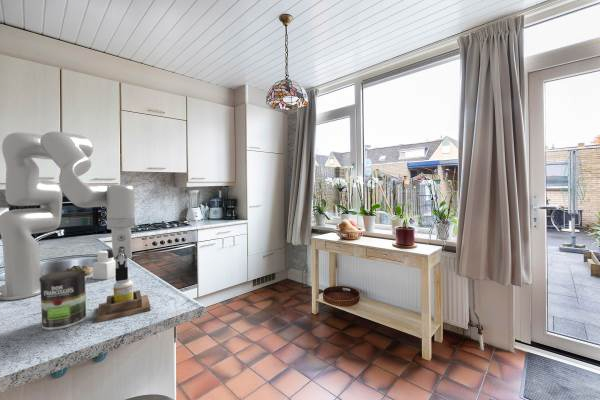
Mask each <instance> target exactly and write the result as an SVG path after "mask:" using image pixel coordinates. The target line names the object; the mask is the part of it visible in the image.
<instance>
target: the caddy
mask: <svg viewBox="0 0 600 400" xmlns="http://www.w3.org/2000/svg"><path fill="white" fill-rule="evenodd" d="M151 309H152V307H151V303H150V300H149V296H148V294H145V295H144V294H143V295H142V294H141V290H133V300H130V301H124V302H119V303H114V294H112V295H107V296H106V302H103V303H98V309H97V313H96V323H100V322H104V321H108V320H112V319H118V318H123V317H127V316H132V315H136V314H141V313H144V312H146V313H147V312H150V311H151Z"/></svg>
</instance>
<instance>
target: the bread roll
mask: <svg viewBox="0 0 600 400" xmlns="http://www.w3.org/2000/svg"><path fill="white" fill-rule="evenodd" d="M66 270H84V271H85V275H86V276H89V275H91V274H90V273H92V274H93V268H92V267H91V266H86V265H72V267H67V269H65V270H64V271H66ZM88 274H89V275H88Z"/></svg>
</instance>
